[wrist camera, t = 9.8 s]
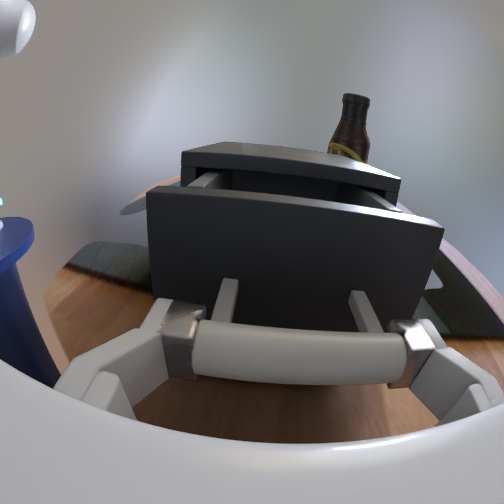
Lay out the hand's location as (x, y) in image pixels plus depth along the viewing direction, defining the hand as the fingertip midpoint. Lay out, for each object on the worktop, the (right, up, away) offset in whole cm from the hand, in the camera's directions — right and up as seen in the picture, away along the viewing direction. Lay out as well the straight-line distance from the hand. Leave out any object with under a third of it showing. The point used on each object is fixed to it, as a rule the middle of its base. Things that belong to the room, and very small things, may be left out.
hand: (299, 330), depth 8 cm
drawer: (0, -2, +9) cm, 9 cm away
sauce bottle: (+12, +7, +33) cm, 36 cm away
